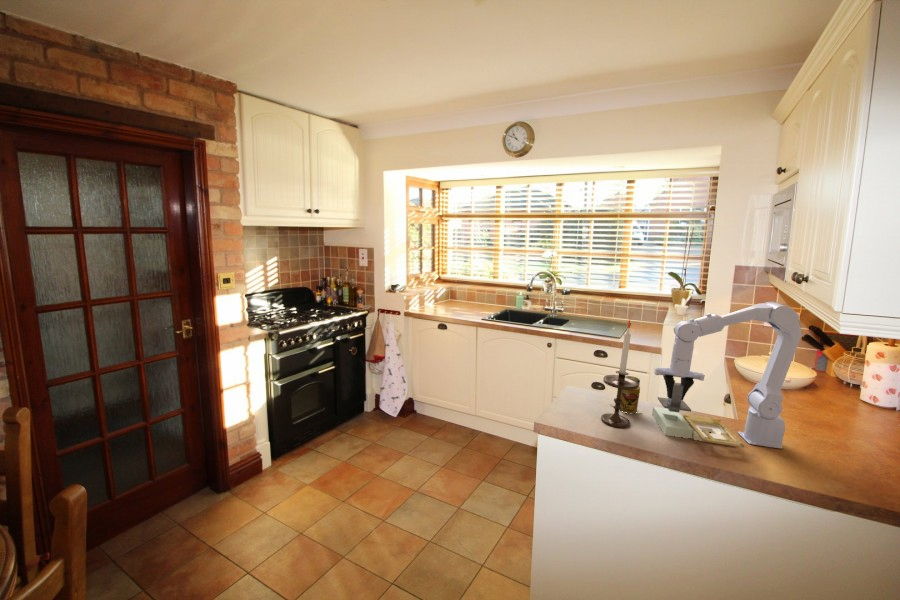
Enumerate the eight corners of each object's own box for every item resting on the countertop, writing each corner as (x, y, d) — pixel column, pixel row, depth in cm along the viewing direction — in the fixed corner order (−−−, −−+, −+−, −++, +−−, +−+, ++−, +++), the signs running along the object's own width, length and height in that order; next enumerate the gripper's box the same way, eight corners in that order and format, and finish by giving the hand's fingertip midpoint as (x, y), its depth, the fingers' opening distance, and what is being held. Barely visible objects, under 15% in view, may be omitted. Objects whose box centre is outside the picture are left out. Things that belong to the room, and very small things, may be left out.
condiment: (625, 414, 150) (630, 382, 148) (610, 404, 157) (614, 373, 155) (642, 413, 152) (647, 381, 150) (626, 403, 160) (631, 372, 158)
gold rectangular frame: (718, 424, 142) (719, 418, 142) (743, 450, 125) (744, 443, 125) (683, 419, 144) (683, 413, 144) (702, 444, 127) (703, 437, 127)
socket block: (718, 429, 142) (719, 423, 142) (733, 445, 132) (734, 438, 131) (682, 424, 144) (683, 418, 144) (694, 440, 134) (695, 432, 133)
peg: (681, 407, 145) (686, 381, 144) (690, 416, 137) (694, 390, 136) (656, 403, 146) (660, 378, 145) (663, 413, 139) (667, 386, 137)
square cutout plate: (675, 417, 150) (676, 409, 149) (691, 438, 134) (692, 430, 134) (651, 414, 151) (653, 406, 151) (665, 435, 136) (666, 426, 135)
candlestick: (603, 411, 150) (616, 314, 145) (635, 421, 145) (651, 319, 139) (594, 422, 142) (607, 318, 136) (628, 432, 136) (644, 324, 130)
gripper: (701, 357, 141) (694, 396, 144) (654, 352, 144) (648, 390, 146) (709, 363, 135) (702, 404, 137) (660, 358, 137) (654, 398, 139)
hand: (675, 398), depth 141 cm, fingers closed on peg, 3 cm apart
